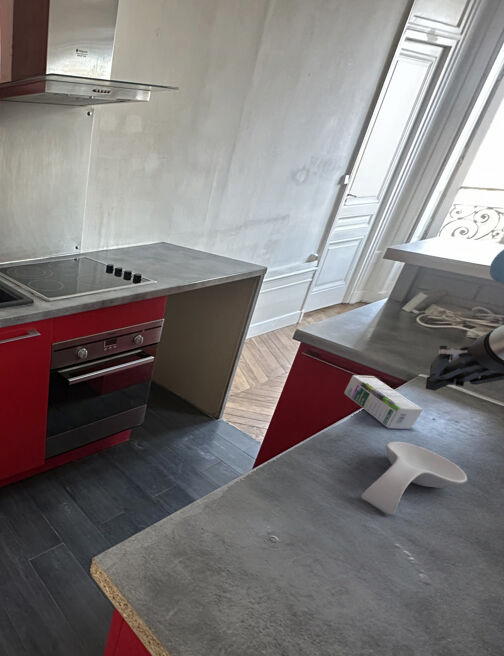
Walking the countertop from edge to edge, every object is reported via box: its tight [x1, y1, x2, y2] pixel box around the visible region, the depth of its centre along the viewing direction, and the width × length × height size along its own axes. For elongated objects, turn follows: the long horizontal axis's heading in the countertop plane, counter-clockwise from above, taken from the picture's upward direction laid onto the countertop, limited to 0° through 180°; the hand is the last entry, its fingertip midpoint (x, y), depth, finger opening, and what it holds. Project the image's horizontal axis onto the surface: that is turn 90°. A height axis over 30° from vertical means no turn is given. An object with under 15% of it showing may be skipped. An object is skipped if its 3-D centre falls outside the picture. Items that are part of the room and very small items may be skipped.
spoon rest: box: [360, 440, 468, 516], centre depth 77 cm, size 24×12×7 cm, turn 120°
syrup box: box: [343, 374, 423, 430], centre depth 100 cm, size 6×6×14 cm
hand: (430, 383), depth 90 cm, fingers closed
